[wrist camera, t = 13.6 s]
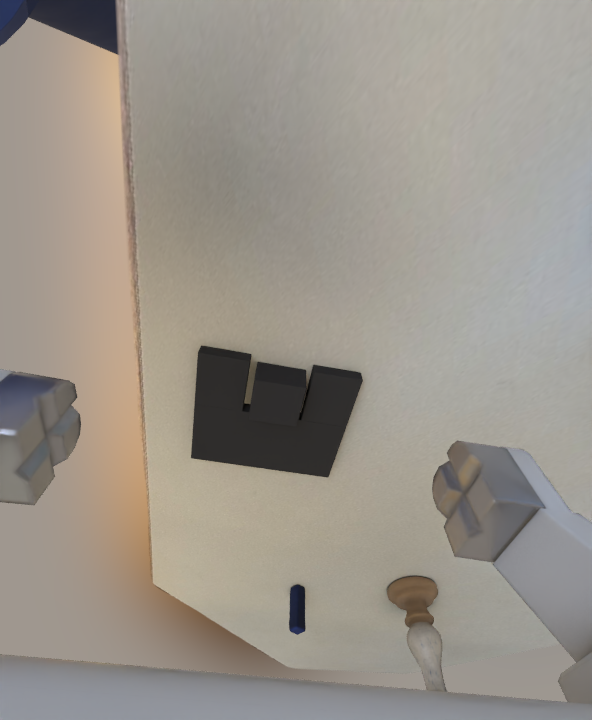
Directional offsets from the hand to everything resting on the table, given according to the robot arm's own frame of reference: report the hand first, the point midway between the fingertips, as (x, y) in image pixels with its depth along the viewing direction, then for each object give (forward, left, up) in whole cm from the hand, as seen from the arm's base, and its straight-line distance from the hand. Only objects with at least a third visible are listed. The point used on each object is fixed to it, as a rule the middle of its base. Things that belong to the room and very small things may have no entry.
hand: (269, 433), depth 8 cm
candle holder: (+33, -59, -29) cm, 74 cm away
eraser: (+13, -63, -29) cm, 71 cm away
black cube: (+2, -20, -29) cm, 35 cm away
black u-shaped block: (+2, -24, -29) cm, 38 cm away
